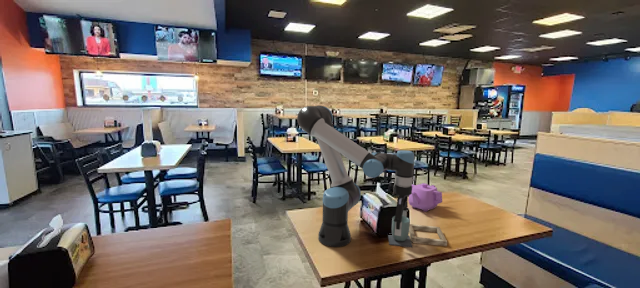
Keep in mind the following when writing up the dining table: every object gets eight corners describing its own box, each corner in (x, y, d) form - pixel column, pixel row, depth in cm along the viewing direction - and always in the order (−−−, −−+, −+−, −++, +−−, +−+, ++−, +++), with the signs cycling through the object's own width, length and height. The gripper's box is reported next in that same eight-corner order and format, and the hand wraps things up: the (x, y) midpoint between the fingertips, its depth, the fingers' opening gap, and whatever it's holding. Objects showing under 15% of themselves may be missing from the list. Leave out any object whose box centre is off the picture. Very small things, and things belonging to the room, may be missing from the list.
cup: (409, 237, 131) (411, 217, 130) (406, 245, 124) (408, 224, 123) (393, 233, 135) (394, 214, 133) (389, 240, 128) (390, 220, 126)
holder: (412, 242, 128) (412, 238, 128) (408, 228, 142) (408, 224, 142) (446, 246, 125) (447, 241, 125) (439, 231, 140) (439, 227, 139)
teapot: (433, 202, 179) (435, 179, 177) (444, 213, 162) (446, 189, 159) (403, 201, 180) (404, 179, 178) (411, 212, 162) (413, 188, 160)
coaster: (389, 244, 125) (389, 243, 125) (388, 234, 135) (388, 233, 135) (412, 247, 124) (412, 246, 124) (409, 236, 133) (409, 235, 133)
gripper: (407, 194, 112) (404, 243, 116) (415, 179, 135) (412, 220, 138) (389, 191, 116) (386, 238, 119) (399, 177, 138) (397, 217, 141)
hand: (400, 229), depth 128 cm, fingers open, 13 cm apart
